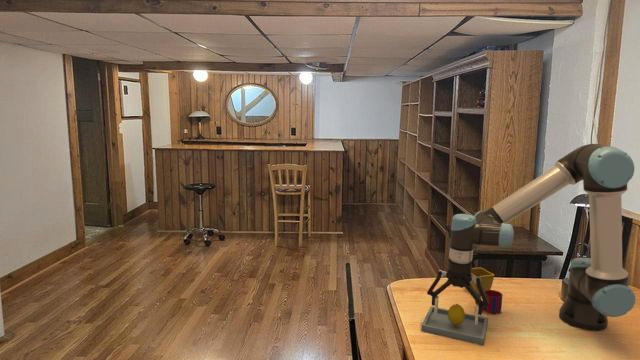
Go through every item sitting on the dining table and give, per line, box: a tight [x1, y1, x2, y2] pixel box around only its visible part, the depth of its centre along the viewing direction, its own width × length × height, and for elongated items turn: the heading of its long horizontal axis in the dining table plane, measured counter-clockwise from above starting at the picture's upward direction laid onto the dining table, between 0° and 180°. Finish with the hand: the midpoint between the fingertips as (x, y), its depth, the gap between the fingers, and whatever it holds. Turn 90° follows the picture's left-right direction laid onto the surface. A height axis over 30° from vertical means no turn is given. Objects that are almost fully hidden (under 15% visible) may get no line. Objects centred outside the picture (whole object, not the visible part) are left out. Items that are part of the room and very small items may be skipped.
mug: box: [474, 289, 504, 315], centre depth 169 cm, size 7×10×7 cm
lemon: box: [448, 303, 466, 326], centre depth 155 cm, size 6×6×8 cm
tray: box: [420, 305, 489, 346], centre depth 156 cm, size 20×16×2 cm
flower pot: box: [470, 267, 495, 295], centre depth 184 cm, size 9×9×9 cm
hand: (455, 318), depth 156 cm, fingers open, 13 cm apart
